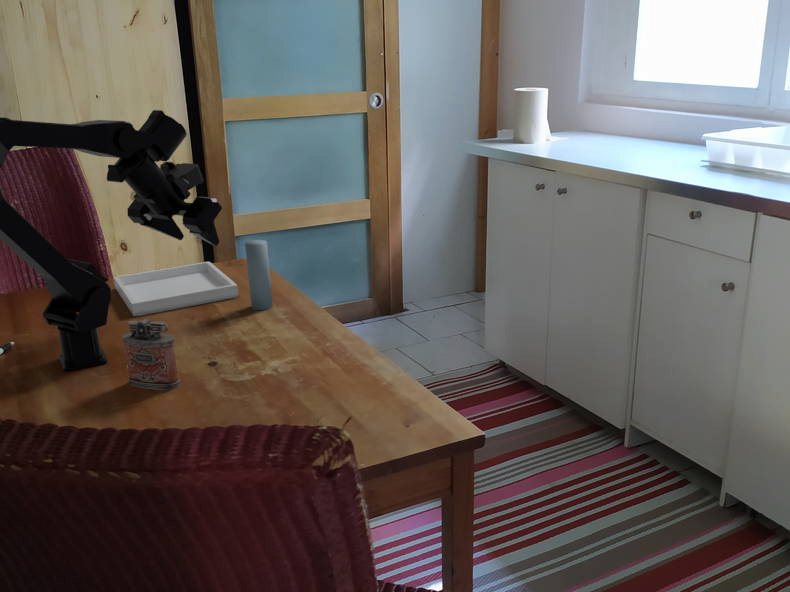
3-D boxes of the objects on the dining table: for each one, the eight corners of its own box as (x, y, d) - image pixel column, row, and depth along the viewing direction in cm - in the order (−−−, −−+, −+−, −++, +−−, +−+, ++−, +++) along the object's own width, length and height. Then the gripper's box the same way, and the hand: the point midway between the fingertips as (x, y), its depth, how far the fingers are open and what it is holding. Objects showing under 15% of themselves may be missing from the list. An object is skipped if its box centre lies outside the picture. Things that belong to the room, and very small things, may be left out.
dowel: (275, 307, 142) (270, 243, 138) (255, 311, 141) (249, 246, 137) (268, 301, 146) (262, 238, 142) (248, 305, 144) (242, 242, 140)
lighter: (124, 386, 112) (114, 322, 108) (138, 376, 115) (128, 314, 112) (172, 391, 109) (163, 327, 106) (185, 381, 112) (176, 318, 109)
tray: (238, 297, 149) (237, 285, 148) (134, 316, 140) (132, 304, 139) (210, 272, 166) (209, 261, 165) (115, 288, 157) (113, 277, 156)
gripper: (213, 149, 125) (259, 212, 136) (139, 144, 135) (187, 203, 146) (176, 199, 120) (227, 260, 132) (102, 190, 130) (155, 248, 141)
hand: (199, 241), depth 138 cm, fingers open, 9 cm apart
